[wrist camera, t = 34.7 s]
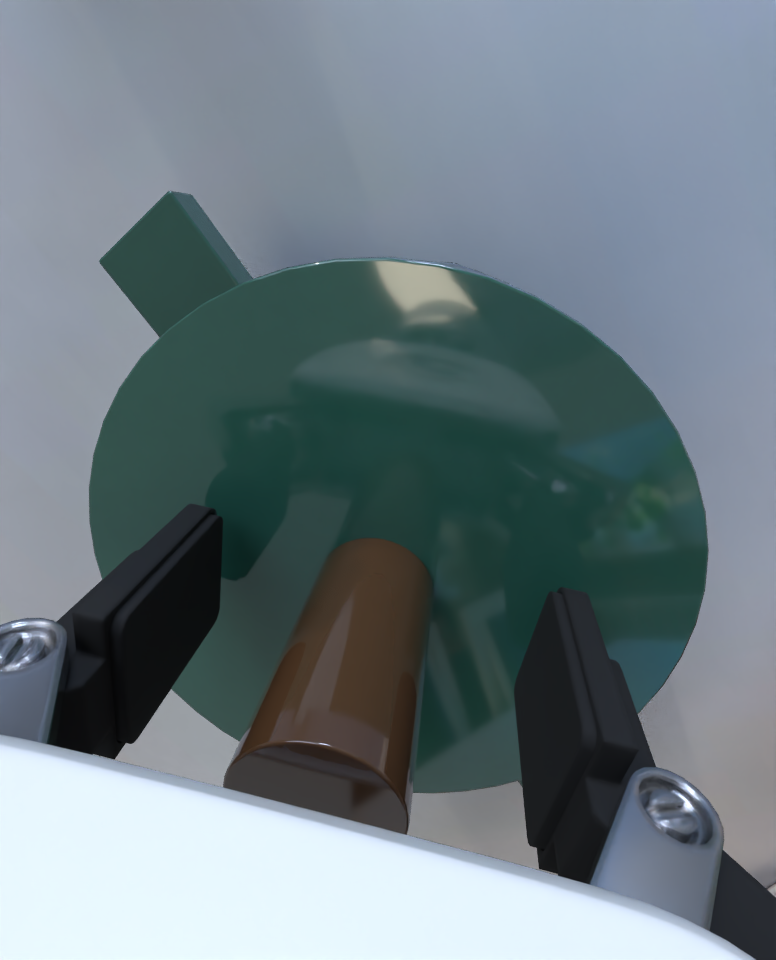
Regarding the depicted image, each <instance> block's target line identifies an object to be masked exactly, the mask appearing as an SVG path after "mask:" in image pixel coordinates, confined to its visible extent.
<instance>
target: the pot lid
mask: <svg viewBox="0 0 776 960" xmlns="http://www.w3.org/2000/svg"><path fill="white" fill-rule="evenodd" d="M188 504H196V505H201V506H205V507H210V508H214V509H215V510H216V512H217V516H221V517H222V518H223V540H222V565H221V591H220V610H219V614H218V617H217V620H216V622H215V624H214V625H213V627H212V628H211V630H210V631H209V633H208V634H207V636H206V637H205V639H204V640H203V642H202V643H201V645H200V646H199V648H198V649H197V651H196V652H195V654H194V655H193V657H192V658H191V660H190V661H189V663H188V664H187V666H186V667H185V669H184V670H183V672H182V673H181V675H180V676H179V677H178V679H177V680H176V682H175V683H174V685H173V686H172V688H171V689H172V690H173V691H174V692H175V693H176V694H177V695H178V696H180V697H181V698H182V699H183V700H184V701H185V702H186V703H187V704H188V705H190V706H191V707H192V708H193V709H194V710H195V711H196V712H197V713H199V714H200V715H201V716H203V717H204V718H205V719H207V720H208V721H210V722H211V723H212V724H214V725H215V726H216V727H218V728H219V729H220V730H222V731H223V732H225V733H226V734H228V735H230V736H231V737H233V738H235V739H236V740H238V741H240V742H239V745H238V747H237V749H236V751H235V753H234V755H233V758H232V760H231V762H230V764H229V766H228V768H227V771H226V774H225V776H224V783H223V788H227V789H231V790H235V791H239V792H243V793H247V794H250V795H254V796H258V797H262V798H266V799H270V800H274V801H278V802H282V803H286V804H289V805H293V806H297V807H301V808H305V809H309V810H313V811H317V812H320V813H324V814H328V815H332V816H336V817H340V818H344V819H348V820H351V821H355V822H359V823H363V824H367V825H371V826H375V827H378V828H382V829H386V830H390V831H394V832H397V833H401V834H405V835H407V832H408V828H409V823H410V814H411V804H412V795H413V793H446V792H462V791H470V790H476V789H483V788H489V787H495V786H500V785H504V784H507V783H511V782H515V781H519V780H522V775H521V765H520V754H519V743H518V732H517V722H516V711H515V700H514V687H515V681H516V678H517V675H518V672H519V670H520V667H521V664H522V662H523V659H524V656H525V654H526V651H527V648H528V646H529V643H530V640H531V638H532V635H533V632H534V630H535V627H536V624H537V622H538V619H539V616H540V614H541V611H542V608H543V605H544V603H545V600H546V597H547V595H548V593H549V592H550V591H552V592H557V590H558V589H559V588H560V587H564V588H569V589H573V590H577V591H582V592H586V593H587V594H588V596H589V599H590V602H591V605H592V608H593V611H594V614H595V617H596V620H597V623H598V626H599V629H600V632H601V635H602V638H603V641H604V644H605V647H606V650H607V653H608V656H609V659H612V660H616V661H617V662H618V663H619V665H620V667H621V669H622V671H623V674H624V677H625V680H626V683H627V686H628V689H629V691H630V694H631V697H632V700H633V703H634V706H635V709H636V711H637V714H638V713H639V712H640V711H641V710H642V709H643V708H644V707H645V706H646V705H647V703H648V702H649V701H650V700H651V699H652V698H653V697H654V695H655V694H656V693H657V692H658V691H659V690H660V689H661V687H662V686H663V685H664V683H665V682H666V680H667V679H668V677H669V676H670V674H671V672H672V671H673V669H674V668H675V666H676V665H677V663H678V662H679V660H680V658H681V657H682V655H683V652H684V650H685V648H686V646H687V643H688V641H689V639H690V637H691V634H692V632H693V630H694V628H695V625H696V622H697V618H698V614H699V611H700V607H701V603H702V599H703V595H704V592H705V584H706V573H707V562H708V538H707V525H706V512H705V508H704V504H703V500H702V496H701V492H700V488H699V484H698V480H697V476H696V472H695V469H694V467H693V465H692V462H691V460H690V458H689V456H688V453H687V451H686V449H685V446H684V444H683V442H682V440H681V437H680V435H679V433H678V431H677V429H676V428H675V426H674V424H673V423H672V421H671V420H670V418H669V417H668V415H667V414H666V412H665V410H664V409H663V407H662V406H661V404H660V403H659V401H658V400H657V398H656V397H655V395H654V393H653V392H652V391H651V390H650V389H649V388H648V386H647V385H646V384H645V383H644V382H643V381H642V380H641V379H640V377H639V376H638V375H637V374H636V373H635V372H634V371H633V370H632V368H631V367H630V366H629V365H628V364H627V363H626V362H625V361H624V360H623V358H622V357H621V356H620V355H618V354H617V353H616V352H615V351H614V350H612V349H611V348H610V347H609V346H608V345H606V344H605V343H604V342H603V341H601V340H600V339H599V338H598V337H597V336H595V335H594V334H593V333H592V332H591V331H589V330H588V329H587V328H586V327H585V326H583V325H582V324H581V323H579V322H578V321H577V320H575V319H573V318H572V317H570V316H568V315H567V314H565V313H564V312H562V311H560V310H559V309H557V308H555V307H554V306H552V305H550V304H549V303H547V302H545V301H544V300H542V299H540V298H539V297H537V296H535V295H533V294H531V293H529V292H526V291H524V290H521V289H519V288H517V287H514V286H512V285H510V284H507V283H505V282H503V281H500V280H498V279H496V278H493V277H491V276H488V275H485V274H481V273H477V272H473V271H469V270H466V269H462V268H458V267H454V266H450V265H447V264H443V263H438V262H430V261H421V260H413V259H404V258H395V257H368V258H339V259H333V260H327V261H321V262H316V263H310V264H304V265H299V266H293V267H287V268H284V269H281V270H278V271H275V272H272V273H269V274H266V275H263V276H260V277H257V278H254V279H251V280H248V281H245V282H243V283H241V284H239V285H237V286H235V287H233V288H231V289H229V290H227V291H225V292H223V293H221V294H219V295H217V296H215V297H214V298H212V299H210V300H208V301H206V302H204V303H202V304H201V305H200V306H198V307H197V308H196V309H194V310H193V311H192V312H190V313H189V314H187V315H186V316H185V317H183V318H182V319H181V320H179V321H178V322H177V323H175V324H174V325H173V326H171V327H170V328H169V329H168V330H167V331H166V332H165V333H164V334H163V335H162V336H161V337H160V338H159V339H158V340H157V341H156V342H155V343H154V344H153V345H152V346H151V347H150V348H149V349H148V350H147V351H146V352H145V353H144V354H143V355H142V356H141V358H140V359H139V361H138V362H137V363H136V365H135V366H134V368H133V369H132V371H131V372H130V373H129V375H128V376H127V378H126V379H125V381H124V382H123V383H122V385H121V386H120V388H119V390H118V392H117V394H116V396H115V398H114V400H113V402H112V405H111V407H110V409H109V411H108V413H107V415H106V417H105V419H104V421H103V424H102V428H101V431H100V435H99V438H98V441H97V445H96V448H95V452H94V455H93V463H92V470H91V478H90V485H89V514H90V527H91V534H92V540H93V546H94V553H95V557H96V560H97V563H98V567H99V570H100V573H101V577H102V580H103V579H104V578H105V577H106V576H107V575H108V574H109V573H110V572H111V571H113V570H114V569H115V568H116V567H117V566H118V565H119V564H120V563H121V562H122V561H123V560H125V559H126V558H127V557H128V556H129V555H130V554H131V553H133V552H134V551H136V550H140V549H141V548H142V547H143V546H144V545H145V544H146V543H147V542H148V541H149V540H150V539H151V538H153V537H154V536H155V535H156V534H157V533H158V532H159V531H160V530H161V529H162V528H163V527H164V526H165V525H166V524H168V523H169V522H170V521H171V520H172V519H173V518H174V517H175V516H176V515H177V514H178V513H179V512H180V511H182V510H183V509H184V508H185V507H186V506H187V505H188Z"/></svg>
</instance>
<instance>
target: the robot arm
mask: <svg viewBox="0 0 776 960" xmlns="http://www.w3.org/2000/svg"><path fill="white" fill-rule="evenodd" d="M222 540H223V518H222V517H221V516H217V512H216V510H215V509H214V508H210V507H205V506H201V505H196V504H188V505H187V506H186V507H185V508H184V509H183V510H182V511H180V512H179V513H178V514H177V515H176V516H175V517H174V518H173V519H172V520H171V521H170V522H169V523H168V524H166V525H165V526H164V527H163V528H162V529H161V530H160V531H159V532H158V533H157V534H156V535H155V536H154V537H153V538H151V539H150V540H149V541H148V542H147V543H146V544H145V545H144V546H143V547H142V548H141V549H140V550H136V551H134V552H133V553H131V554H130V555H129V556H128V557H127V558H126V559H125V560H123V561H122V562H121V563H120V564H119V565H118V566H117V567H116V568H115V569H114V570H113V571H111V572H110V573H109V574H108V575H107V576H106V577H105V578H104V579H103V580H102V581H101V582H99V583H98V584H97V585H96V586H95V587H94V588H93V589H92V590H91V591H90V592H89V593H87V594H86V595H85V596H84V597H83V598H82V599H81V600H80V601H79V602H78V603H77V604H76V605H74V606H73V607H72V608H71V609H70V610H69V611H68V612H67V613H66V614H65V615H64V616H62V617H61V618H60V619H59V620H58V621H57V622H55V621H53V620H49V619H44V618H25V619H20V620H14V621H11V622H8V623H5V624H2V625H0V960H776V897H775V896H774V895H772V894H771V893H770V892H769V891H768V890H767V889H766V888H765V887H764V886H762V885H761V884H760V883H759V882H758V881H757V880H756V879H755V878H753V877H752V876H751V875H750V874H749V873H748V872H747V871H746V870H745V869H743V868H742V867H741V866H740V865H739V864H738V863H737V862H736V861H735V860H733V859H732V858H731V857H730V856H729V855H728V854H727V853H726V852H725V851H723V844H724V831H723V826H722V824H721V821H720V818H719V816H718V814H717V812H716V811H715V809H714V808H713V806H712V805H711V803H710V802H709V800H708V799H707V798H706V797H705V796H704V795H703V794H702V793H701V792H700V791H699V790H698V789H697V788H696V787H695V786H693V785H692V784H691V783H689V782H688V781H687V780H685V779H684V778H682V777H680V776H679V775H677V774H675V773H673V772H671V771H669V770H665V769H661V768H658V767H656V766H655V763H654V760H653V757H652V754H651V751H650V749H649V746H648V743H647V740H646V737H645V734H644V731H643V729H642V726H641V723H640V720H639V717H638V714H637V711H636V709H635V706H634V703H633V700H632V697H631V694H630V691H629V689H628V686H627V683H626V680H625V677H624V674H623V671H622V669H621V667H620V665H619V663H618V662H617V661H616V660H612V659H609V656H608V653H607V650H606V647H605V644H604V641H603V638H602V635H601V632H600V629H599V626H598V623H597V620H596V617H595V614H594V611H593V608H592V605H591V602H590V599H589V596H588V594H587V593H586V592H582V591H577V590H573V589H569V588H564V587H560V588H559V589H558V590H557V592H552V591H550V592H549V593H548V595H547V597H546V600H545V603H544V605H543V608H542V611H541V614H540V616H539V619H538V622H537V624H536V627H535V630H534V632H533V635H532V638H531V640H530V643H529V646H528V648H527V651H526V654H525V656H524V659H523V662H522V664H521V667H520V670H519V672H518V675H517V678H516V681H515V687H514V700H515V711H516V722H517V732H518V743H519V754H520V765H521V775H522V786H523V797H524V808H525V818H526V829H527V838H528V843H529V845H530V846H532V847H536V848H537V854H538V863H539V869H542V870H546V871H550V872H553V873H557V874H558V876H557V875H554V874H550V873H547V872H543V871H540V870H536V869H533V868H529V867H526V866H522V865H519V864H515V863H511V862H507V861H504V860H500V859H496V858H492V857H488V856H485V855H481V854H477V853H473V852H470V851H466V850H462V849H458V848H454V847H451V846H447V845H443V844H439V843H435V842H432V841H428V840H424V839H420V838H416V837H413V836H409V835H405V834H401V833H397V832H394V831H390V830H386V829H382V828H378V827H375V826H371V825H367V824H363V823H359V822H355V821H351V820H348V819H344V818H340V817H336V816H332V815H328V814H324V813H320V812H317V811H313V810H309V809H305V808H301V807H297V806H293V805H289V804H286V803H282V802H278V801H274V800H270V799H266V798H262V797H258V796H254V795H250V794H247V793H243V792H239V791H235V790H231V789H227V788H223V787H219V786H215V785H211V784H207V783H203V782H199V781H195V780H191V779H187V778H183V777H179V776H175V775H171V774H167V773H163V772H160V771H156V770H152V769H148V768H144V767H140V766H136V765H132V764H128V763H124V762H120V761H116V760H112V759H115V758H116V756H117V755H118V754H119V752H120V751H121V749H122V748H123V746H124V745H125V743H129V744H132V743H134V742H135V741H136V740H137V738H138V737H139V736H140V734H141V733H142V731H143V730H144V728H145V727H146V725H147V724H148V722H149V721H150V719H151V718H152V716H153V715H154V713H155V712H156V710H157V709H158V707H159V706H160V704H161V703H162V701H163V700H164V698H165V697H166V695H167V694H168V692H169V691H170V689H171V688H172V686H173V685H174V683H175V682H176V680H177V679H178V677H179V676H180V675H181V673H182V672H183V670H184V669H185V667H186V666H187V664H188V663H189V661H190V660H191V658H192V657H193V655H194V654H195V652H196V651H197V649H198V648H199V646H200V645H201V643H202V642H203V640H204V639H205V637H206V636H207V634H208V633H209V631H210V630H211V628H212V627H213V625H214V624H215V622H216V620H217V617H218V614H219V610H220V591H221V565H222ZM93 754H95V755H99V756H95V755H93ZM100 756H103V757H100ZM104 757H107V758H104ZM108 758H111V759H108Z"/></svg>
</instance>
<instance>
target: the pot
mask: <svg viewBox="0 0 776 960" xmlns="http://www.w3.org/2000/svg"><path fill="white" fill-rule="evenodd" d="M99 262H100V264H101V265H102V266H103V268H104V269H105V270H106V271H107V273H108V274H109V275H110V276H111V278H112V279H113V280H114V281H115V283H116V284H117V285H118V286H119V287H120V289H121V290H122V291H123V292H124V294H125V295H126V296H127V297H128V299H129V300H130V301H131V302H132V304H133V305H134V306H135V307H136V309H137V310H138V311H139V312H140V314H141V315H142V316H143V317H144V318H145V320H146V321H147V322H148V323H149V325H150V326H151V327H152V328H153V330H154V331H155V332H156V333H157V335H158V336H159V337H161V336H162V335H163V334H164V333H165V332H166V331H167V330H168V329H169V328H170V327H171V326H173V325H174V324H175V323H177V322H178V321H179V320H181V319H182V318H183V317H185V316H186V315H187V314H189V313H190V312H192V311H193V310H194V309H196V308H197V307H198V306H200V305H201V304H202V303H204V302H206V301H208V300H210V299H212V298H214V297H215V296H217V295H219V294H221V293H223V292H225V291H227V290H229V289H231V288H233V287H235V286H237V285H239V284H241V283H243V282H245V281H248V280H251V279H253V278H252V277H251V276H250V274H249V273H248V272H247V270H246V269H245V267H244V266H243V265H242V263H241V262H240V261H239V259H238V258H237V256H236V255H235V254H234V252H233V251H232V250H231V248H230V247H229V245H228V244H227V243H226V241H225V240H224V239H223V237H222V236H221V234H220V233H219V232H218V230H217V229H216V228H215V226H214V225H213V223H212V222H211V221H210V219H209V218H208V217H207V215H206V214H205V212H204V211H203V210H202V208H201V207H200V206H199V204H198V203H197V201H196V200H195V199H194V197H193V196H192V195H191V194H186V193H180V192H174V191H168V192H167V193H166V194H165V195H164V196H163V197H162V198H161V199H160V200H159V201H158V202H157V203H156V204H155V205H154V206H153V207H152V208H151V209H150V210H149V211H148V212H147V213H146V214H145V215H144V216H143V217H142V218H141V219H140V220H139V221H138V222H137V223H136V224H135V225H134V226H133V227H132V228H131V229H130V230H129V231H128V232H127V233H126V234H125V235H124V236H123V237H122V238H121V239H120V240H119V241H118V242H117V243H116V244H115V245H114V246H113V247H112V248H111V249H110V250H109V251H108V252H107V253H106V254H105V255H104V256H103V257H102V258H101V259H100V261H99ZM438 263H443V264H447V265H450V266H454V267H458V268H462V269H466V270H469V271H473V272H477V273H481V274H484V273H482V272H479V271H477V270H473V269H470V268H467V267H465V266H462V265H459V264H457V263H454V264H453V263H452V262H438ZM485 275H486V274H485ZM488 276H489V275H488ZM493 278H494V277H493ZM496 279H497V278H496ZM498 280H499V279H498ZM500 281H502V280H500ZM503 282H505V281H503ZM505 283H507V282H505ZM507 284H509V283H507ZM512 286H513V285H512ZM518 782H519V783H520V784H521V786H522V780H519V781H518ZM522 787H523V786H522Z"/></svg>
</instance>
